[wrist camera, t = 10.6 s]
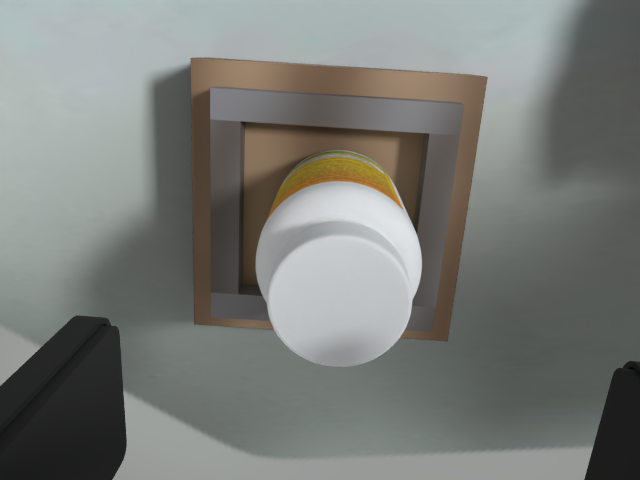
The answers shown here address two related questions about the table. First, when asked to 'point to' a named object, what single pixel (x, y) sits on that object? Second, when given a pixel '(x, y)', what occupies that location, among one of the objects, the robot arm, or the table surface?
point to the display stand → (315, 137)
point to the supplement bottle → (338, 260)
